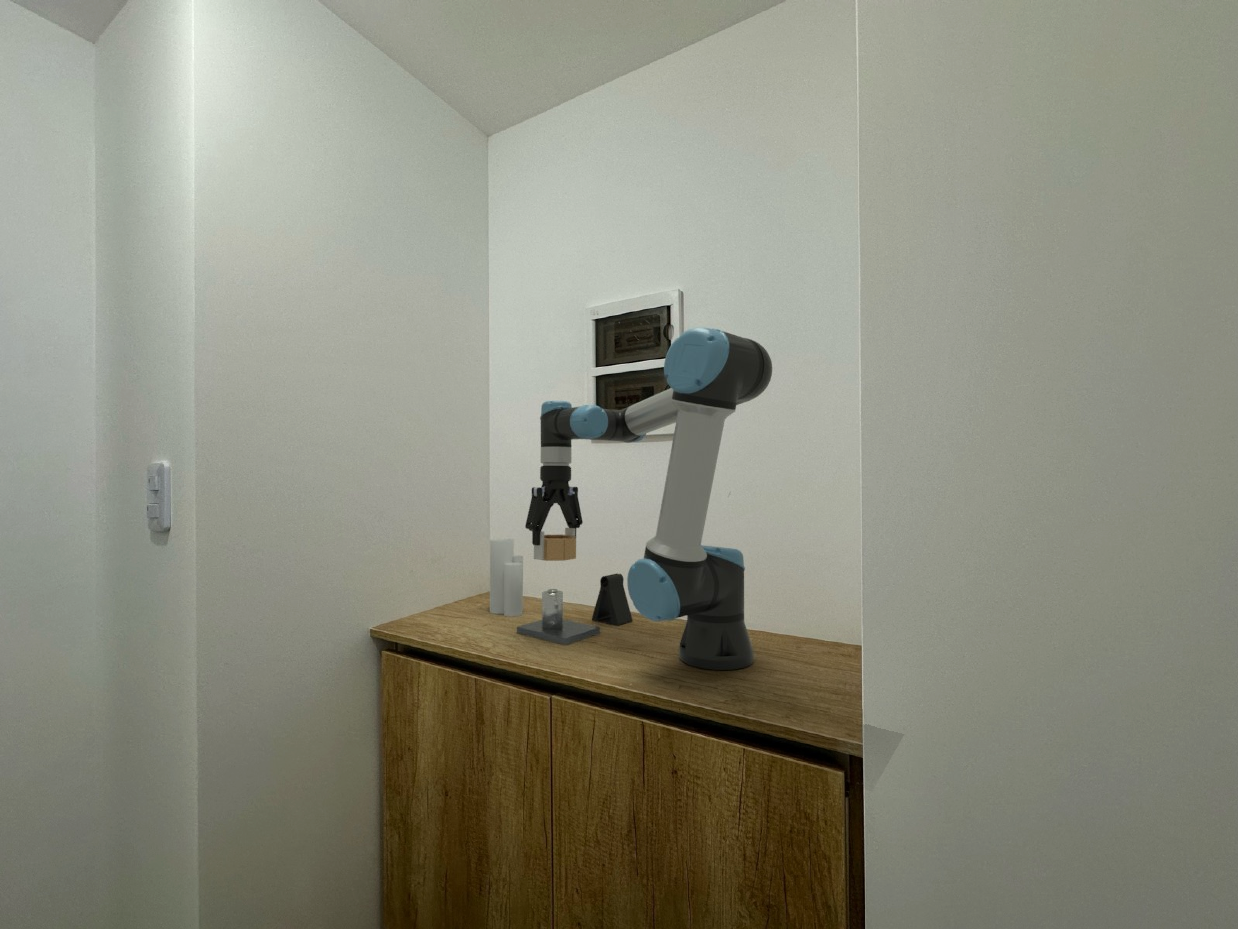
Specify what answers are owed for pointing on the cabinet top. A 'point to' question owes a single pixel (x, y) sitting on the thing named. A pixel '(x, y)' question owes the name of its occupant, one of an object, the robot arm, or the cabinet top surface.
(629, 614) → the black triangular stand
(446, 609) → the cabinet top surface
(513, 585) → the candle
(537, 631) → the peg on base plate
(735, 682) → the cabinet top surface
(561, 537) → the ring
